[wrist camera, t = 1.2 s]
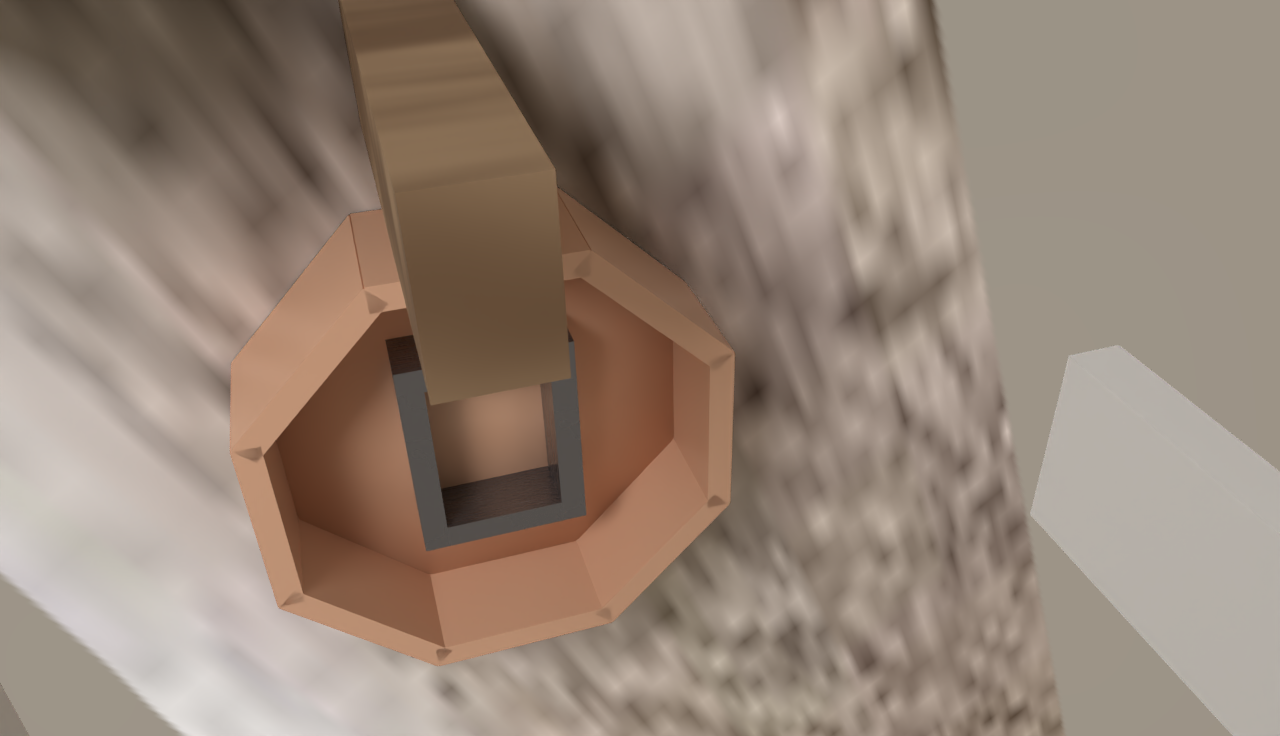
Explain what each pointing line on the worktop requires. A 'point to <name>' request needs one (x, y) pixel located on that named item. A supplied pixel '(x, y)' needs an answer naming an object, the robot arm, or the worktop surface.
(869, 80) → the worktop surface
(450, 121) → the wooden bar
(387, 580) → the orange octagonal tray
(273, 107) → the worktop surface
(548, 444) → the grey rectangular sleeve
